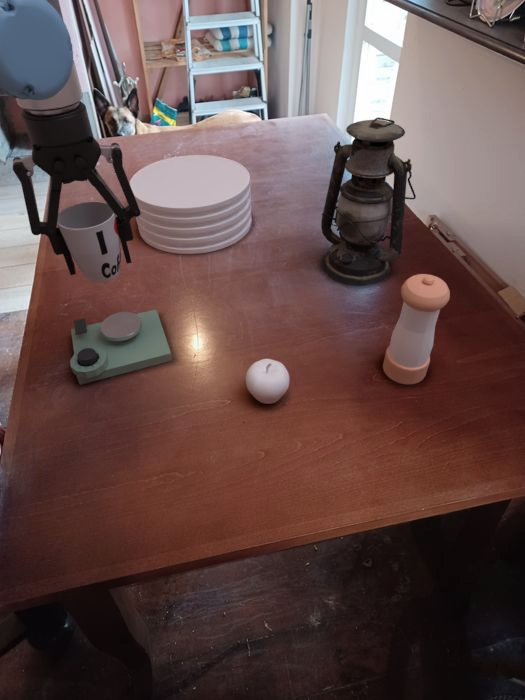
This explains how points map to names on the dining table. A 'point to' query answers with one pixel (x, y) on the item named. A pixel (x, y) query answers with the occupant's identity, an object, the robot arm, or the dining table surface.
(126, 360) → the scale
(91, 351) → the button
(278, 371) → the plain white apple
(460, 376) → the dining table surface
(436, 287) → the salt shaker
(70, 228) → the cup
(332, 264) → the lantern
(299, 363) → the dining table surface
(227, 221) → the plate stack
